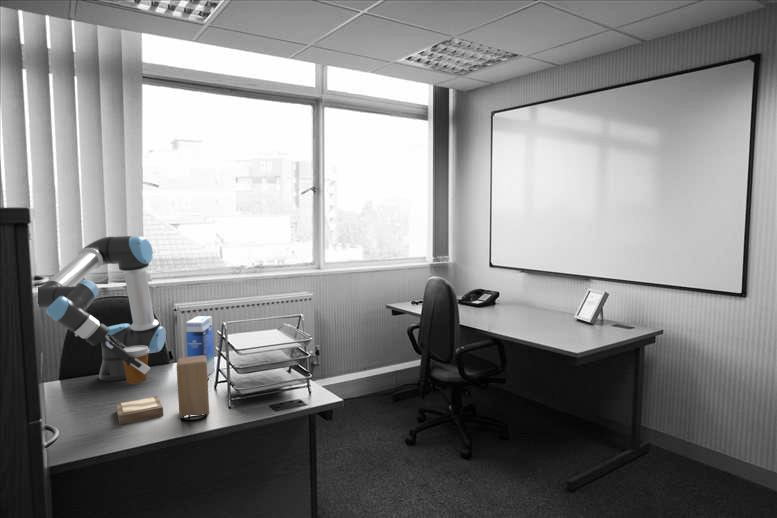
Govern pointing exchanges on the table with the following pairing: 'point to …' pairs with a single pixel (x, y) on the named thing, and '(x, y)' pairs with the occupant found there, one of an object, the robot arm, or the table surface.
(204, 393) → the block
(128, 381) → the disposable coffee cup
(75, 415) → the table surface
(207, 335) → the string lights box
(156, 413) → the walnut base
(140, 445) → the table surface
